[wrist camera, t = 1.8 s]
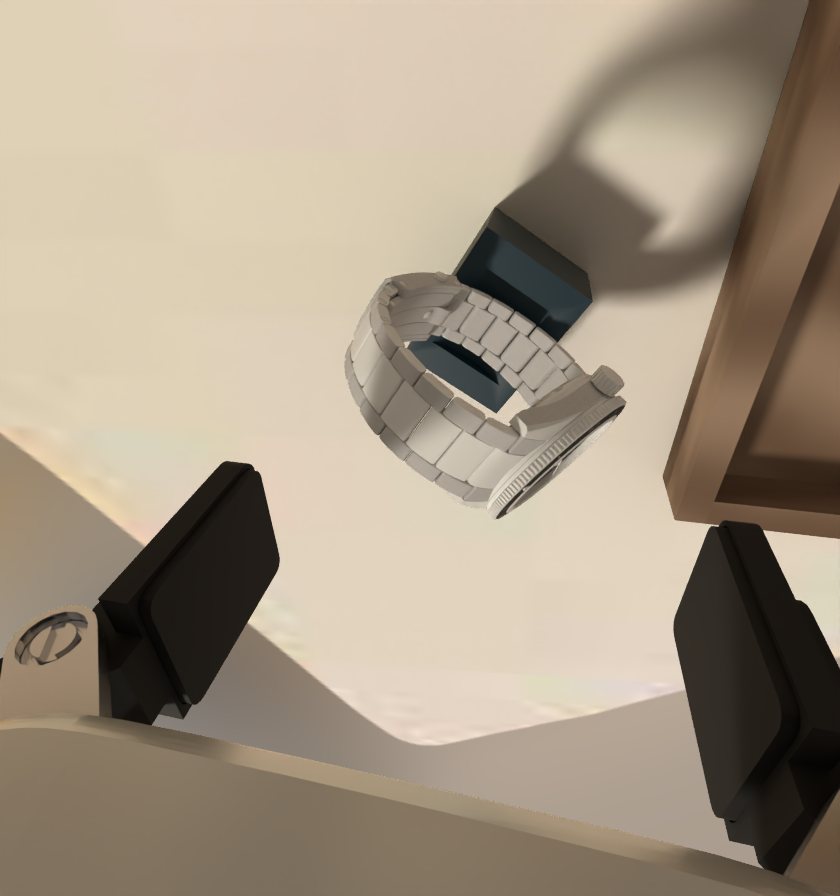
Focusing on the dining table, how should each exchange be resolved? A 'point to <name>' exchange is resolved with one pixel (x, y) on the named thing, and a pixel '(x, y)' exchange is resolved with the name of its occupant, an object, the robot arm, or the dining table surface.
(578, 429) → the watch
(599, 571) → the dining table surface
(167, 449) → the dining table surface
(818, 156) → the tray
